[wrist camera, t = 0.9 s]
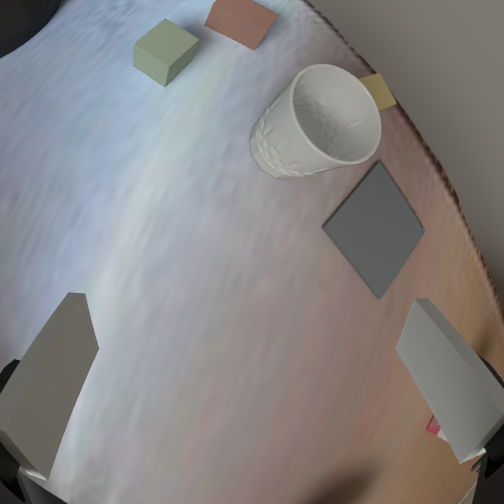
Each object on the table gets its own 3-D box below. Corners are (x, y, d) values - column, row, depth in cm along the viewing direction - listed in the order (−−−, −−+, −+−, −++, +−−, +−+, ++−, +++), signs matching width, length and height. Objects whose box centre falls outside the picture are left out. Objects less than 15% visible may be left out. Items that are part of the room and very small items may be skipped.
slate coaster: (321, 227, 31) (324, 226, 30) (376, 162, 33) (379, 161, 33) (376, 298, 34) (380, 299, 33) (421, 231, 36) (424, 231, 36)
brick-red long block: (204, 26, 26) (213, 3, 22) (217, 10, 27) (227, -12, 23) (253, 51, 28) (267, 31, 24) (264, 35, 28) (279, 15, 25)
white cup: (323, 181, 31) (391, 161, 22) (251, 191, 29) (304, 168, 19) (307, 108, 30) (366, 69, 21) (235, 111, 28) (278, 59, 18)
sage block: (133, 66, 24) (134, 44, 21) (161, 41, 25) (165, 18, 21) (164, 87, 25) (169, 66, 22) (191, 61, 26) (199, 39, 22)
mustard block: (337, 92, 32) (357, 78, 28) (359, 85, 33) (379, 72, 29) (353, 122, 32) (376, 111, 29) (374, 113, 33) (396, 103, 30)
